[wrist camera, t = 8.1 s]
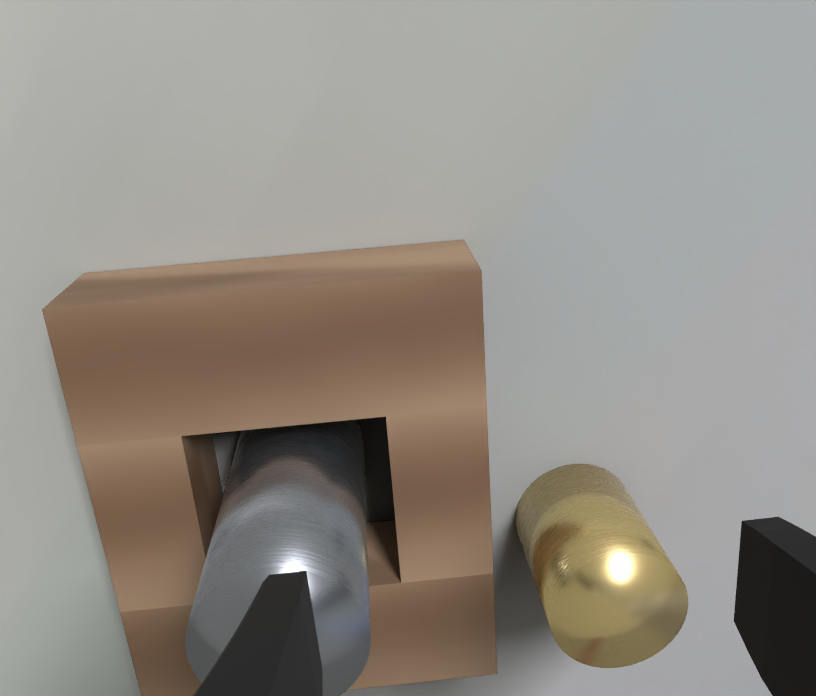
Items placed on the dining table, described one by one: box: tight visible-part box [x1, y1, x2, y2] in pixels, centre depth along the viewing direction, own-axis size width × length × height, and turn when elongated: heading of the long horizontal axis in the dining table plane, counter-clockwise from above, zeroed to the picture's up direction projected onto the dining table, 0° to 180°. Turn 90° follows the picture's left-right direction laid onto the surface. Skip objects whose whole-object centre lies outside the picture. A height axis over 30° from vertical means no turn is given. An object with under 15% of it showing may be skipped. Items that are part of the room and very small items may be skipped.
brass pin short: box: [516, 464, 688, 668], centre depth 22 cm, size 4×4×4 cm
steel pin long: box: [185, 420, 371, 696], centre depth 19 cm, size 4×4×8 cm
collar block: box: [42, 240, 497, 696], centre depth 21 cm, size 12×10×3 cm
